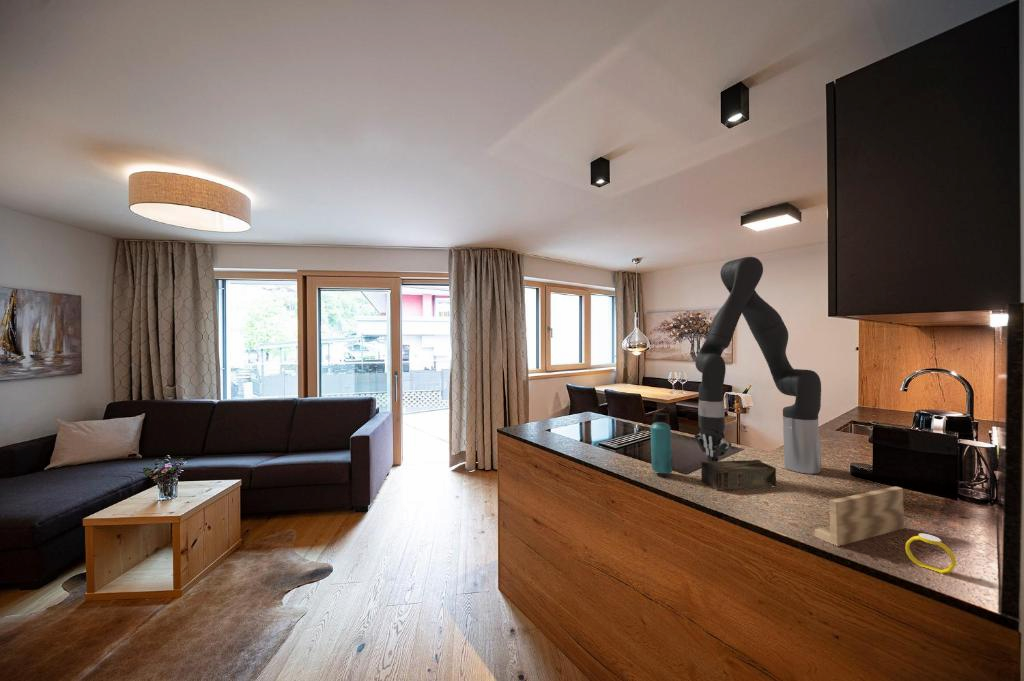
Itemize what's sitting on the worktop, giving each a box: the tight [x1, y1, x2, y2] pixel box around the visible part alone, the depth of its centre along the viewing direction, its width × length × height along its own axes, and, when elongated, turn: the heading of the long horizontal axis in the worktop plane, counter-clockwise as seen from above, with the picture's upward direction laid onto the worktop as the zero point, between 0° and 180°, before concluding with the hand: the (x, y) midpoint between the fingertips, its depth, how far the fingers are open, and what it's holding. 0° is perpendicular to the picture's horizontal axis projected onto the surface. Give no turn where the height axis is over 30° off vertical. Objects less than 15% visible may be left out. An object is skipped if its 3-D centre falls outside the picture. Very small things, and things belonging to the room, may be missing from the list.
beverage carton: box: [700, 459, 777, 491], centre depth 108 cm, size 8×19×7 cm, turn 96°
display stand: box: [814, 486, 905, 547], centre depth 79 cm, size 22×4×9 cm, turn 107°
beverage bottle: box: [649, 412, 674, 474], centre depth 117 cm, size 6×7×20 cm
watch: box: [904, 532, 957, 575], centre depth 66 cm, size 6×3×6 cm, turn 34°
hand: (712, 467), depth 117 cm, fingers closed
